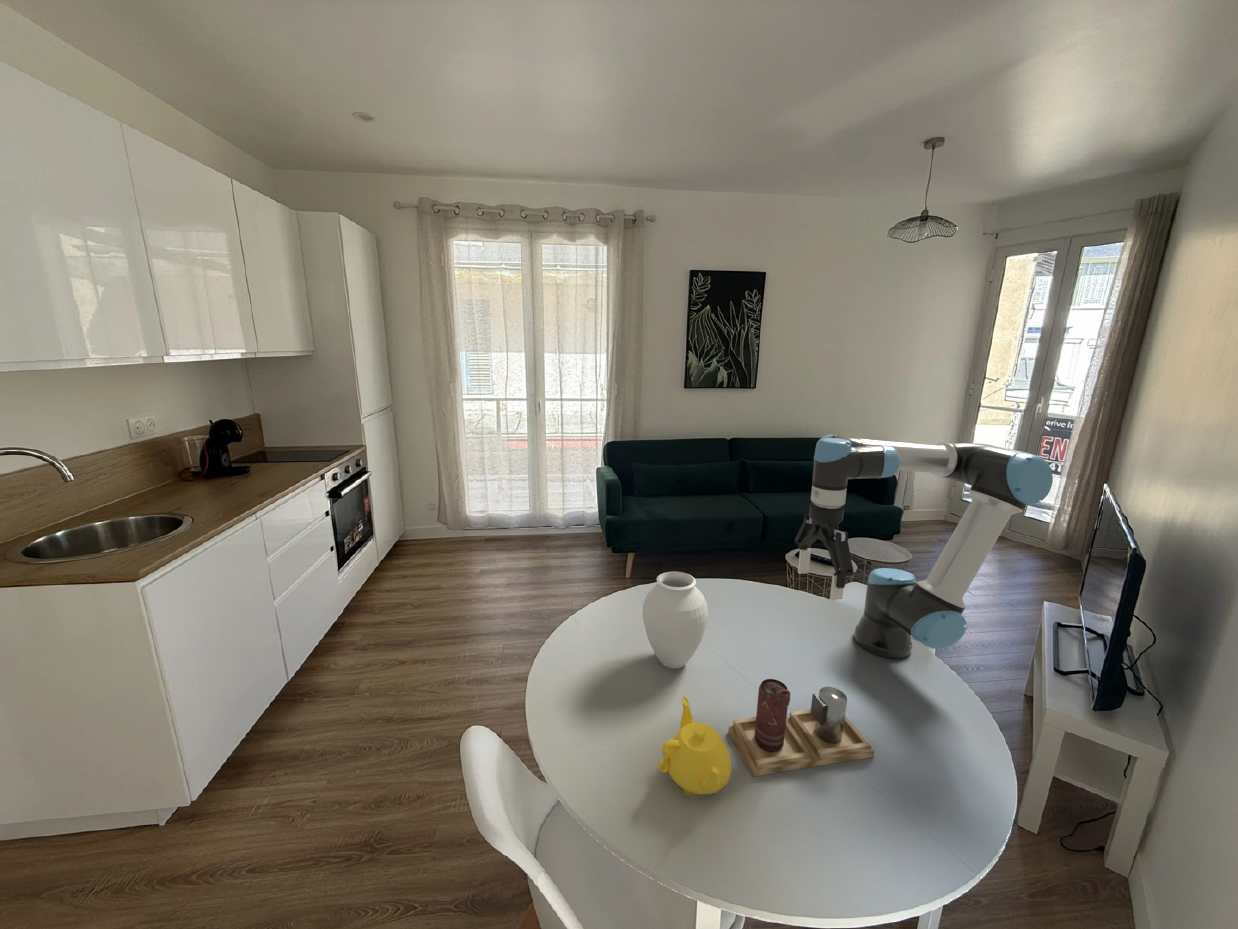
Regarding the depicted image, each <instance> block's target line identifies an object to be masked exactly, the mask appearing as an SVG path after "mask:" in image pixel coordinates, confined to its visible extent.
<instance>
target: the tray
mask: <svg viewBox="0 0 1238 929" xmlns="http://www.w3.org/2000/svg"><path fill="white" fill-rule="evenodd" d="M815 723H816V719H815V717H814V716H813V715H812V714H811V708H809V709H802V710H795V711H790V712H789V717H787V718H786V727H785V736H784V744H783V747H782V748H781V749H780V750H779V751H777V752H768V751H766V750H764V749H762V748H761V747H760V746H759V745H758V744H757V742H756V741H755V737H754V736H755V725H756V716H753V717H747V718H739V719H733V723H732V724H733V725H730V726H728V733H729V735H730V737H731V740H732V741H733V743H734V745H735V746H736V748H737V751H738V753H739V754H740V755H741V758H742V759H743V761H744V763H745V765H746V767H747V770H748V771H749V773H750V775H751V777H757V776H758V777H759V776H764V775H771V774H778V773H783V772H789V771H795V770H801V769H807V768H814V767H817V766H819V767H820V766H825V765H832V764H836V763H844V762H850V761H856V760H862V759H867V758H873V757H874V756H875V750H874V749H873V748H872V744H870V742H869V741H868V740H867V739H866V738H865V736H863V734H862V733H861V732H860V731H859V729H858V728H857V727H856V726H855V725H854V723H852V722H851V721H850V719H849V718H848V717H847V716H846V715H845V719H844V726H843V734H842V740H841V742H839V743H837V744H830V743H827V742H824V741H822V740H821V739H820V738H819V737H818V736H817V735H816V733H815Z"/></svg>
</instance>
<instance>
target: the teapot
mask: <svg viewBox="0 0 1238 929" xmlns="http://www.w3.org/2000/svg"><path fill="white" fill-rule="evenodd" d="M681 702H682V715H681V719H680V723H679V724H680V725H679V730H678V731H677V732H676V733H675V735H673V737H672V739H669V740H666V741H665V742H663V744H662V746H661V753H662V760H660V761H659V762H658V764H657V769H658V770H659V771H660V772H661V773H664V774H666V773H668V774H669V775H670V778H671V779H672V780H673V781H674V782H675V783H676V785H678V786H679V787H680V788H681V789H682V792H683V794H684V795H685V796H686V797H693V796H694V795H702V796H703V795H704V796H705V795H710V794H714V793H719V792H721V791H722V789H723V788H724V787H725V786H726V785H727V784H728V782H729V780H730V778H731V776H732V762H731V757H730V753H729V750H728V748H727V745H726V743H725V742H724V740H723V738H722V737H721V736H720V734H719V733H718V732H717V731H716V730H715V729H714V728H713V727H712V726H710V725H709V724H707V723H704V722H703V723H702V722H694V720H693V714H692V712H691V706H690V702H689V700H688V698H687V697H686V696H685V695H683V696H682V698H681Z"/></svg>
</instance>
